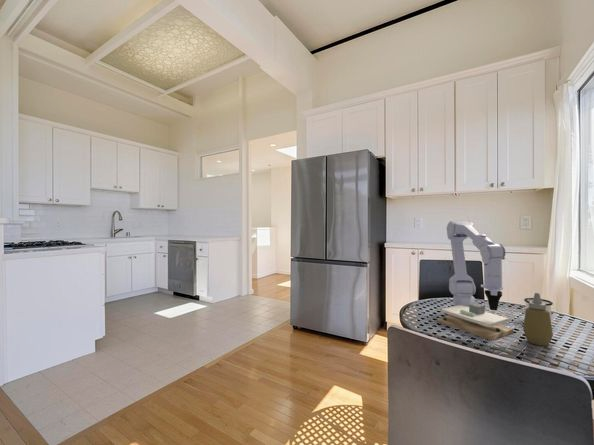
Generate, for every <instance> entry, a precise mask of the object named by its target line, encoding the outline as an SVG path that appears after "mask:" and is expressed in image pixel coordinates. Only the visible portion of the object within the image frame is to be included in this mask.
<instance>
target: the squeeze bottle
mask: <svg viewBox="0 0 594 445" xmlns="http://www.w3.org/2000/svg"><path fill="white" fill-rule="evenodd" d="M532 298H533V302H529V307H528V308H526V307H525V308H526V311H525V310H524V321H523V329H522V330H523V332H524V335H525V339H526V340H527V342H528V343H530V344H533V345H536V346H539V347H547V346H549V345H550V343H551V341H552V339H553V336H554V333H553V332H554V331H553V327H552V318H551V319H550V312H549V311H547V310H546V304H544V303H542V301H541V299H542V298H541V295H540V293H539V292H534V295H533V297H532Z"/></svg>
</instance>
